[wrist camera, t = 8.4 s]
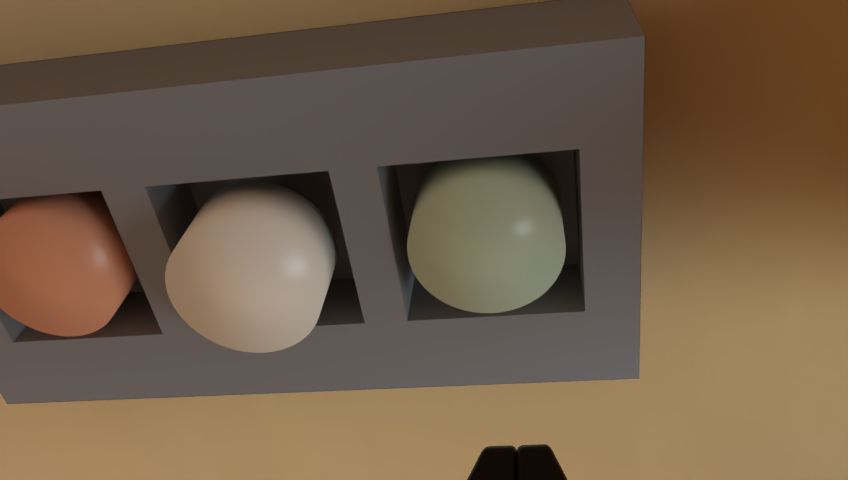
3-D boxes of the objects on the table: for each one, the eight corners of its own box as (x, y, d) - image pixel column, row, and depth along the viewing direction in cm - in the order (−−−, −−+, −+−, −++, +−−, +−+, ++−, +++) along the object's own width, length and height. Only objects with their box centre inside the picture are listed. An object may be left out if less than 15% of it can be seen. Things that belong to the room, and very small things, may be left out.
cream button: (320, 175, 18) (301, 220, 16) (350, 297, 19) (336, 349, 18) (175, 187, 18) (142, 233, 16) (219, 305, 20) (193, 356, 18)
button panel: (624, -8, 17) (644, 35, 14) (623, 305, 22) (639, 378, 19) (-81, 74, 20) (-166, 123, 17) (57, 336, 25) (7, 404, 22)
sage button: (556, 134, 18) (562, 175, 16) (563, 260, 19) (568, 308, 18) (405, 148, 18) (395, 189, 16) (426, 269, 20) (419, 316, 18)
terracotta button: (120, 173, 19) (84, 214, 18) (166, 286, 21) (137, 333, 19) (-7, 185, 20) (-53, 225, 18) (49, 293, 22) (12, 339, 20)
